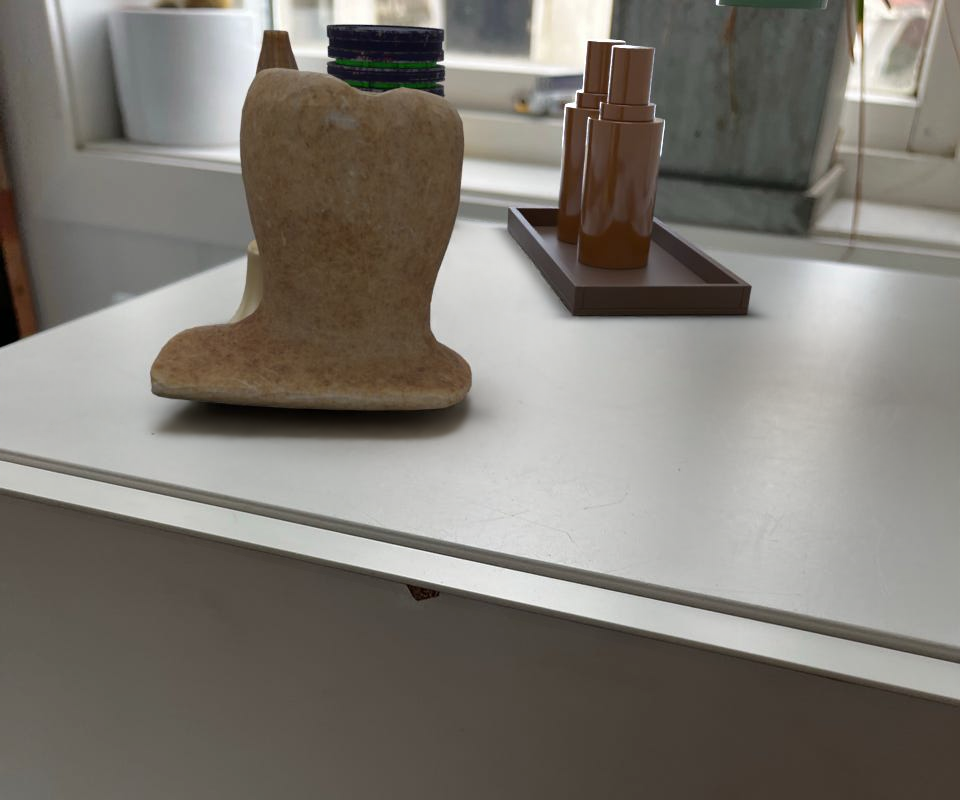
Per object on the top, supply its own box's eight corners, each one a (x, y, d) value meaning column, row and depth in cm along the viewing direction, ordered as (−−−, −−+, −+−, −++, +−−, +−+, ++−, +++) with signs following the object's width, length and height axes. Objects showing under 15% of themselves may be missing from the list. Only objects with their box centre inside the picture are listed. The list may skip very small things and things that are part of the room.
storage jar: (452, 214, 94) (455, 28, 86) (432, 236, 86) (434, 32, 78) (348, 207, 95) (342, 23, 87) (319, 228, 87) (309, 27, 79)
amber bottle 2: (636, 252, 82) (660, 45, 74) (656, 269, 77) (684, 50, 69) (569, 252, 81) (585, 43, 73) (585, 269, 76) (604, 48, 68)
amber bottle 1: (612, 231, 88) (631, 39, 80) (629, 246, 84) (651, 43, 76) (550, 231, 88) (563, 37, 80) (563, 246, 83) (578, 41, 75)
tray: (639, 230, 91) (642, 207, 90) (747, 314, 69) (752, 285, 68) (507, 229, 90) (508, 206, 89) (573, 315, 67) (575, 286, 66)
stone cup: (474, 363, 58) (483, 64, 50) (468, 442, 48) (478, 86, 40) (211, 353, 58) (177, 52, 50) (151, 430, 48) (96, 70, 40)
